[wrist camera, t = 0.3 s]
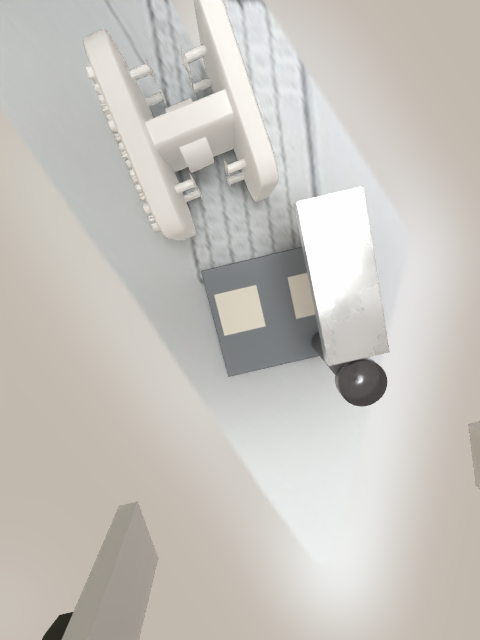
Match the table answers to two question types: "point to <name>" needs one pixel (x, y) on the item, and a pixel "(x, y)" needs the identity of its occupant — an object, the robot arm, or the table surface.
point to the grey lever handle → (345, 290)
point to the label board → (264, 312)
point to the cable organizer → (185, 122)
